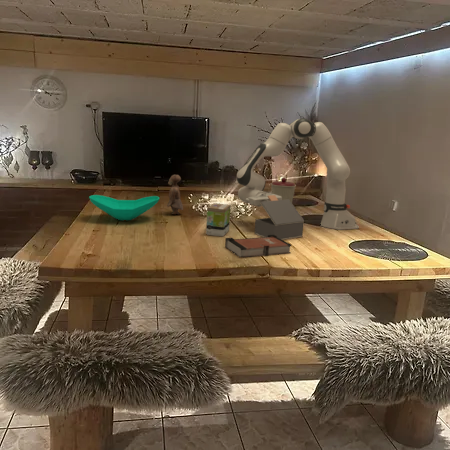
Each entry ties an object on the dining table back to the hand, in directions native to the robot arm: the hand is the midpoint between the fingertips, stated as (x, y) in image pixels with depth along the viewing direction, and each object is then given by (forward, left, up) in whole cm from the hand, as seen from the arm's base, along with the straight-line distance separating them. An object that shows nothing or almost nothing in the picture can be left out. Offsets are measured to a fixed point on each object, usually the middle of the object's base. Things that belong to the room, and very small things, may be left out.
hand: (274, 202), depth 236 cm
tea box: (+30, -1, -17) cm, 34 cm away
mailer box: (-2, +5, -17) cm, 17 cm away
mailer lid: (-2, +5, -3) cm, 6 cm away
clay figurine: (+50, -46, -17) cm, 70 cm away
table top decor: (+80, -31, -17) cm, 88 cm away
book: (+16, +32, -17) cm, 40 cm away
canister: (-28, -73, -17) cm, 80 cm away
